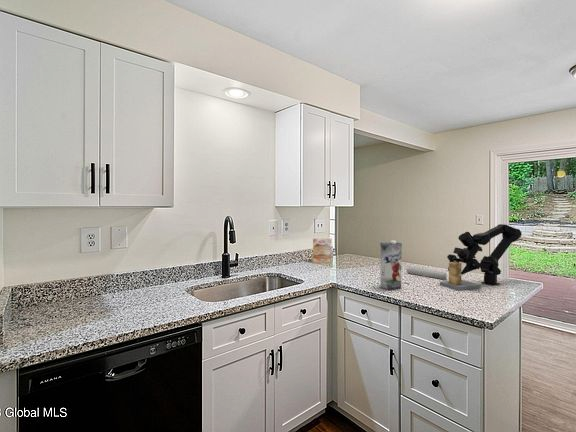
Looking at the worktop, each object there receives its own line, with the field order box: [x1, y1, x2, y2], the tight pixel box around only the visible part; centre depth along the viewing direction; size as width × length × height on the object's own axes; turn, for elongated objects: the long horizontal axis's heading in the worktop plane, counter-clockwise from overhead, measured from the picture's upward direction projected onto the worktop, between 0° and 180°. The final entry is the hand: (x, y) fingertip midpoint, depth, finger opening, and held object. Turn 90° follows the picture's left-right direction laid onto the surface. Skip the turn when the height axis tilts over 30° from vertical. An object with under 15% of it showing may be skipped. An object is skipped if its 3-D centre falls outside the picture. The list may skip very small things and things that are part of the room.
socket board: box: [439, 279, 482, 292], centre depth 175 cm, size 16×13×2 cm
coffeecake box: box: [312, 237, 333, 264], centre depth 254 cm, size 15×7×20 cm, turn 81°
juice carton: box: [379, 240, 403, 291], centre depth 173 cm, size 9×10×27 cm
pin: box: [448, 261, 462, 286], centre depth 173 cm, size 4×4×14 cm
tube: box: [406, 265, 448, 280], centre depth 201 cm, size 5×5×25 cm
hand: (454, 272), depth 173 cm, fingers open, 9 cm apart
